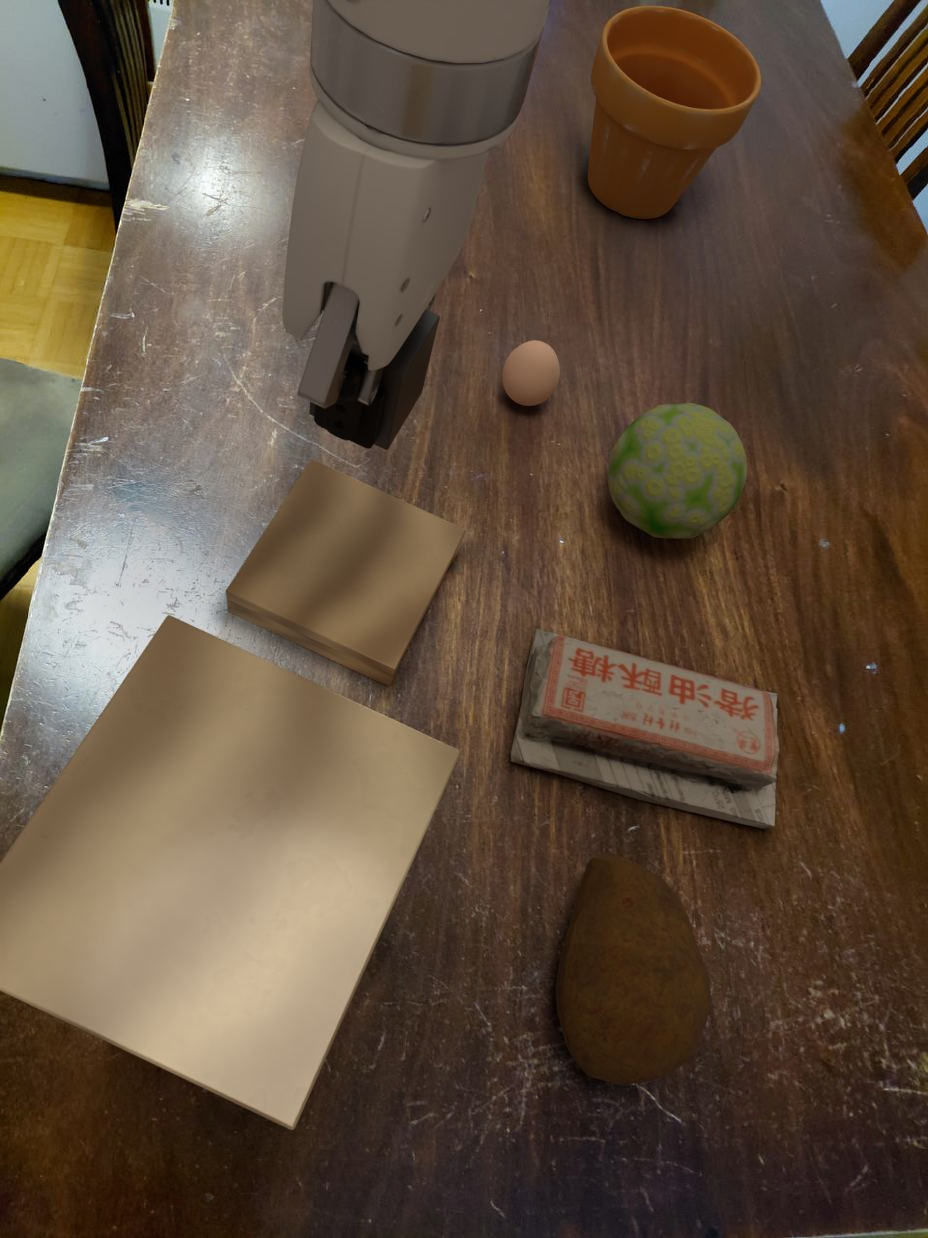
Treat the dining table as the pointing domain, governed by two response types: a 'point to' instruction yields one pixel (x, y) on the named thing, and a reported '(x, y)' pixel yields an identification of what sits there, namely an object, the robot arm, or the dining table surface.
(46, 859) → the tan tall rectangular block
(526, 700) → the packaged product
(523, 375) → the egg
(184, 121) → the dining table surface
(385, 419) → the block
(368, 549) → the tan flat square block
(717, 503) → the decorative ball
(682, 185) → the flower pot
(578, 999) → the potato
